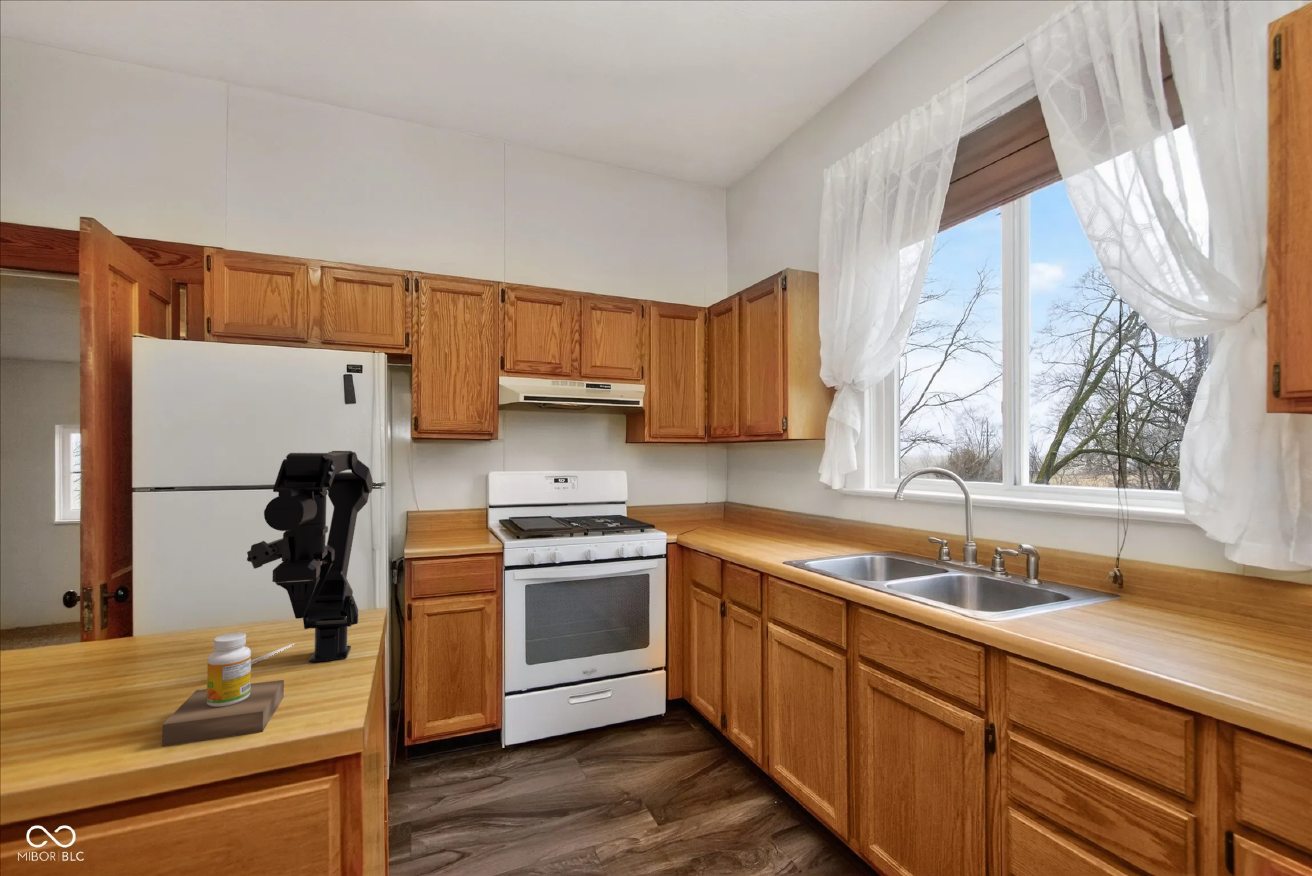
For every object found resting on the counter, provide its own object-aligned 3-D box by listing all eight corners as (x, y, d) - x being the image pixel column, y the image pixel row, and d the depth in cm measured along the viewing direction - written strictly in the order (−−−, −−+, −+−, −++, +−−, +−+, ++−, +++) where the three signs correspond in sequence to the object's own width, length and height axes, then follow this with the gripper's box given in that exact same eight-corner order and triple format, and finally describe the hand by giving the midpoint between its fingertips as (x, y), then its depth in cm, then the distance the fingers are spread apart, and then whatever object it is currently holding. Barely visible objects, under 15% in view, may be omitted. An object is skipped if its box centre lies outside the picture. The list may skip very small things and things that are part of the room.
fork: (301, 647, 120) (302, 638, 120) (223, 684, 100) (224, 673, 100) (287, 647, 120) (287, 638, 120) (206, 683, 100) (206, 673, 101)
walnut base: (195, 708, 90) (196, 689, 90) (283, 697, 95) (283, 679, 95) (161, 746, 79) (162, 724, 79) (262, 731, 83) (263, 711, 83)
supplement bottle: (204, 699, 87) (205, 636, 87) (246, 689, 91) (247, 628, 91) (209, 711, 83) (210, 645, 83) (253, 699, 87) (254, 636, 87)
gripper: (268, 518, 106) (266, 601, 106) (235, 532, 89) (233, 631, 89) (335, 516, 110) (334, 596, 110) (316, 529, 93) (314, 624, 93)
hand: (305, 610), depth 100 cm, fingers open, 9 cm apart
